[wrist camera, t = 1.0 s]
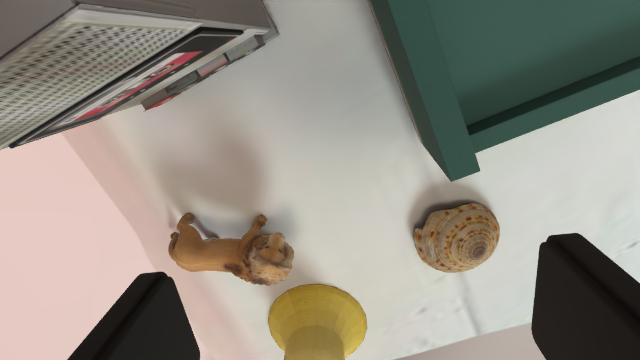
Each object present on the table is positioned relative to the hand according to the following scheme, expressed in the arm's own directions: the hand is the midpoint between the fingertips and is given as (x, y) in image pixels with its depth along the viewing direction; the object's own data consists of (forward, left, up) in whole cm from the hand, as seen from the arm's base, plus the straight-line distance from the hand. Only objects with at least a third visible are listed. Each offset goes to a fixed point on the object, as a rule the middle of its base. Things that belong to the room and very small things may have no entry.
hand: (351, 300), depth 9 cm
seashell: (+17, +5, -26) cm, 32 cm away
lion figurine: (+7, -16, -26) cm, 31 cm away
